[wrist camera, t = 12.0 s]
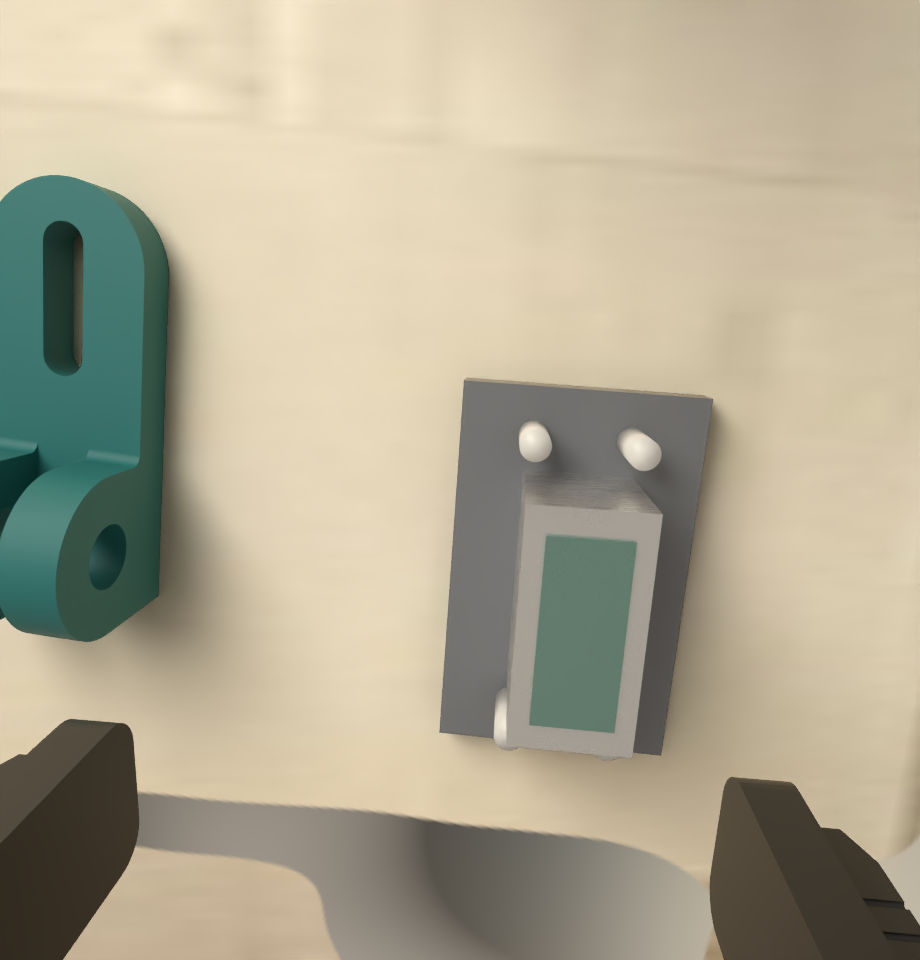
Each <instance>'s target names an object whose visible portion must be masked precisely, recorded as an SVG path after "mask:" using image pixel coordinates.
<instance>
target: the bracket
mask: <svg viewBox="0 0 920 960" xmlns="http://www.w3.org/2000/svg"><path fill="white" fill-rule="evenodd" d="M79 232H80V233H81V236H82V239H83V353H82V364H81V367H79V366H78V365H77V363H76V361H75V359H74V355H73V269H74V240H75V238H76V236H77V234H78V233H79ZM168 284H169V270H168V261H167V256H166V252H165V249H164V246H163V243H162V241H161V238H160V236H159V234H158V232H157V230H156V229H155V227H154V225H153V224H152V222H151V221H150V220H149V218H148V217H147V216H146V215H145V214H144V212H143V211H142V210H140V209H139V208H138V207H137V206H136V205H135V204H134V203H132V202H131V201H130V200H128V199H127V198H125V197H124V196H122V195H120V194H118V193H116V192H114V191H111V190H108V189H105V188H102V187H100V186H97V185H94V184H91V183H88V182H85V181H83V180H80V179H77V178H73V177H68V176H60V175H49V176H41V177H37V178H33V179H31V180H28V181H26V182H24V183H22V184H20V185H18V186H17V187H15V188H14V189H13V190H11V191H10V192H9V193H8V194H7V195H6V196H5V197H4V198H3V199H2V200H1V201H0V620H1V619H3V618H5V617H6V619H7V620H8V621H9V622H10V624H11V625H12V626H14V627H15V628H16V629H18V630H20V631H22V632H25V633H31V634H37V635H44V636H51V637H57V638H64V639H70V640H77V641H84V642H90V641H94V640H98V639H100V638H102V637H103V636H105V635H106V634H108V633H109V632H111V631H112V630H113V629H115V628H116V627H117V626H119V625H120V624H121V623H123V622H124V621H125V620H127V619H128V618H129V617H131V616H132V615H133V614H135V613H136V612H137V611H139V610H140V609H141V608H143V607H144V606H145V605H147V604H148V603H149V602H151V601H152V600H153V599H155V598H156V597H158V591H159V561H160V530H161V499H162V468H163V438H164V407H165V376H166V345H167V315H168Z"/></svg>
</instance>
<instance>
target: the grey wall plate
mask: <svg viewBox="0 0 920 960" xmlns="http://www.w3.org/2000/svg"><path fill="white" fill-rule="evenodd" d="M712 403H713V399H712V398H709V397H706V396H702V395H689V394H676V393H662V392H649V391H636V390H622V389H609V388H596V387H582V386H569V385H556V384H542V383H529V382H516V381H502V380H489V379H475V378H466V379H465V380H464V389H463V404H462V418H461V432H460V446H459V461H458V475H457V489H456V504H455V518H454V532H453V547H452V561H451V575H450V589H449V604H448V618H447V632H446V647H445V661H444V675H443V690H442V704H441V718H440V732H439V733H449V734H459V735H468V736H478V737H488V738H494V741H495V743H496V745H497V746H498V747H500V748H501V749H503V750H514V749H517V748H518V747H511V746H506V709H507V663H508V651H509V639H510V626H511V614H512V602H513V590H514V577H515V565H516V553H517V540H518V528H519V516H520V503H521V491H522V479H523V469H526V470H539V471H553V472H567V473H580V474H594V475H608V476H621V477H633V479H634V480H635V481H636V482H637V484H638V485H639V486H640V487H641V488H642V490H643V491H644V492H645V493H646V495H647V496H648V497H649V498H650V499H651V501H652V502H653V503H654V504H655V505H656V507H657V508H658V509H659V510H660V512H661V513H662V514H663V518H662V526H661V534H660V541H659V549H658V557H657V565H656V573H655V581H654V589H653V597H652V605H651V613H650V621H649V629H648V637H647V644H646V652H645V660H644V668H643V676H642V684H641V692H640V700H639V708H638V716H637V724H636V732H635V739H634V747H633V753H642V754H651V755H661V752H662V745H663V739H664V732H665V725H666V718H667V711H668V704H669V697H670V691H671V684H672V677H673V670H674V663H675V656H676V649H677V643H678V636H679V629H680V622H681V615H682V608H683V601H684V595H685V588H686V581H687V574H688V567H689V560H690V554H691V547H692V540H693V533H694V526H695V519H696V512H697V506H698V499H699V492H700V485H701V478H702V471H703V464H704V458H705V451H706V444H707V437H708V430H709V423H710V416H711V410H712ZM596 756H597V757H598V758H599V759H601V760H605V761H611V760H614V759H616V758H618V757H614V756H604V755H596Z"/></svg>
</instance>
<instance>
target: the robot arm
mask: <svg viewBox="0 0 920 960" xmlns="http://www.w3.org/2000/svg"><path fill="white" fill-rule="evenodd" d="M138 829H139V809H138V796H137V783H136V769H135V756H134V742H133V735H132V732H131V730H130V728H129V727H128V725H126V724H123V723H111V722H100V721H88V720H76V719H69V720H66V721H64V722H63V723H61V724H60V725H59V726H58V727H57V728H55V729H54V730H53V731H52V732H51V733H50V734H49V735H48V736H47V737H46V738H44V739H43V740H42V741H41V742H40V743H39V744H38V745H37V746H36V747H35V748H33V749H32V750H31V751H30V752H29V753H28V754H27V755H21V754H19V755H17V756H15V757H14V758H12V759H10V760H8V761H6V762H4V763H2V764H1V765H0V960H63V959H64V957H65V956H66V955H67V953H68V952H69V950H70V949H71V947H72V946H73V944H74V943H75V942H76V940H77V939H78V937H79V936H80V934H81V933H82V932H83V930H84V929H85V927H86V926H87V924H88V923H89V921H90V920H91V919H92V917H93V916H94V914H95V913H96V911H97V910H98V909H99V907H100V906H101V904H102V903H103V901H104V900H105V899H106V897H107V896H108V894H109V893H110V891H111V890H112V888H113V887H114V886H115V884H116V883H117V881H118V880H119V878H120V877H121V876H122V874H123V872H124V871H125V869H126V867H127V865H128V864H129V861H130V859H131V857H132V854H133V851H134V848H135V845H136V841H137V836H138ZM710 903H711V913H712V919H713V924H714V929H715V932H716V936H717V939H718V942H719V945H720V948H721V951H722V954H723V958H724V960H920V925H919V924H918V922H917V921H916V919H915V918H914V916H913V915H912V913H911V912H910V910H906V909H905V907H904V901H903V899H902V898H901V896H900V895H899V893H898V892H897V890H896V889H895V888H894V886H893V884H892V883H891V882H890V880H889V878H888V877H887V875H886V874H885V872H884V871H883V869H882V868H881V866H880V865H879V863H878V862H877V861H876V860H874V859H873V858H872V857H871V856H870V855H869V854H868V853H866V852H865V851H864V850H863V849H862V848H861V847H860V846H858V845H857V844H856V843H855V842H854V841H853V840H852V839H850V838H849V837H848V836H847V835H846V834H845V833H843V832H842V831H841V830H840V829H830V828H820V826H819V824H818V823H817V821H816V819H815V818H814V816H813V814H812V812H811V811H810V809H809V807H808V806H807V804H806V802H805V801H804V799H803V797H802V796H801V794H800V792H799V791H798V789H797V788H796V786H795V785H794V784H792V783H791V782H782V781H771V780H759V779H747V778H735V777H730V778H729V779H728V780H727V782H726V784H725V787H724V791H723V797H722V803H721V810H720V816H719V823H718V829H717V836H716V842H715V849H714V855H713V862H712V868H711V875H710Z"/></svg>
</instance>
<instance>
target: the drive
mask: <svg viewBox="0 0 920 960" xmlns="http://www.w3.org/2000/svg"><path fill="white" fill-rule="evenodd" d="M662 518H663V514H662V513H661V512H660V510H659V509H658V508H657V507H656V505H655V504H654V503H653V502H652V501H651V499H650V498H649V497H648V496H647V495H646V493H645V492H644V491H643V490H642V488H641V487H640V486H639V485H638V484H637V482H636V481H635V480H634V479H633V477H621V476H608V475H594V474H580V473H567V472H553V471H539V470H526V469H523V479H522V491H521V503H520V516H519V528H518V540H517V553H516V565H515V577H514V590H513V602H512V614H511V626H510V639H509V651H508V663H507V709H506V746H511V747H521V748H531V749H542V750H552V751H563V752H573V753H583V754H594V755H604V756H614V757H625V758H632V755H633V747H634V739H635V732H636V724H637V716H638V708H639V700H640V692H641V684H642V676H643V668H644V660H645V652H646V644H647V637H648V629H649V621H650V613H651V605H652V597H653V589H654V581H655V573H656V565H657V557H658V549H659V541H660V534H661V526H662Z"/></svg>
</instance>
